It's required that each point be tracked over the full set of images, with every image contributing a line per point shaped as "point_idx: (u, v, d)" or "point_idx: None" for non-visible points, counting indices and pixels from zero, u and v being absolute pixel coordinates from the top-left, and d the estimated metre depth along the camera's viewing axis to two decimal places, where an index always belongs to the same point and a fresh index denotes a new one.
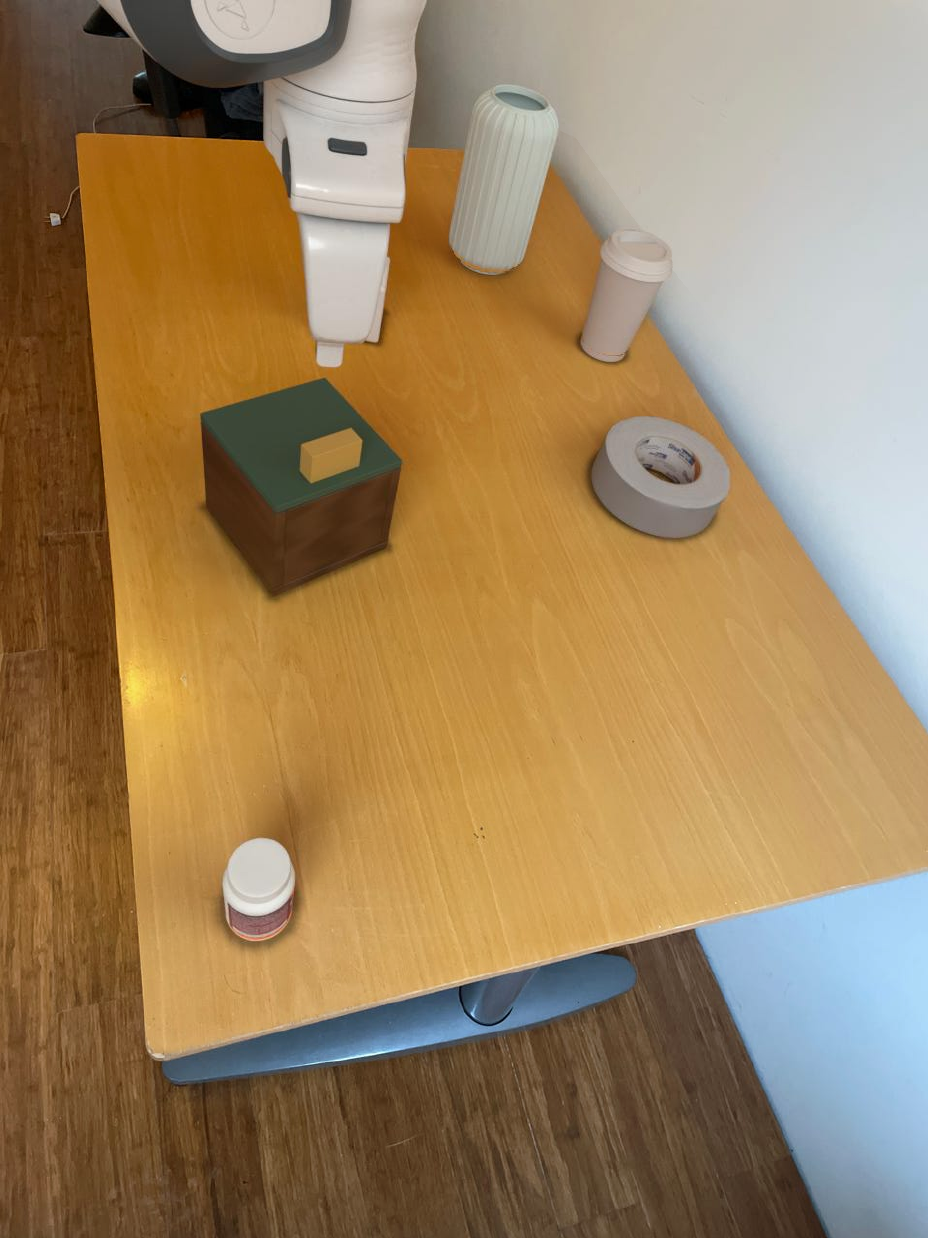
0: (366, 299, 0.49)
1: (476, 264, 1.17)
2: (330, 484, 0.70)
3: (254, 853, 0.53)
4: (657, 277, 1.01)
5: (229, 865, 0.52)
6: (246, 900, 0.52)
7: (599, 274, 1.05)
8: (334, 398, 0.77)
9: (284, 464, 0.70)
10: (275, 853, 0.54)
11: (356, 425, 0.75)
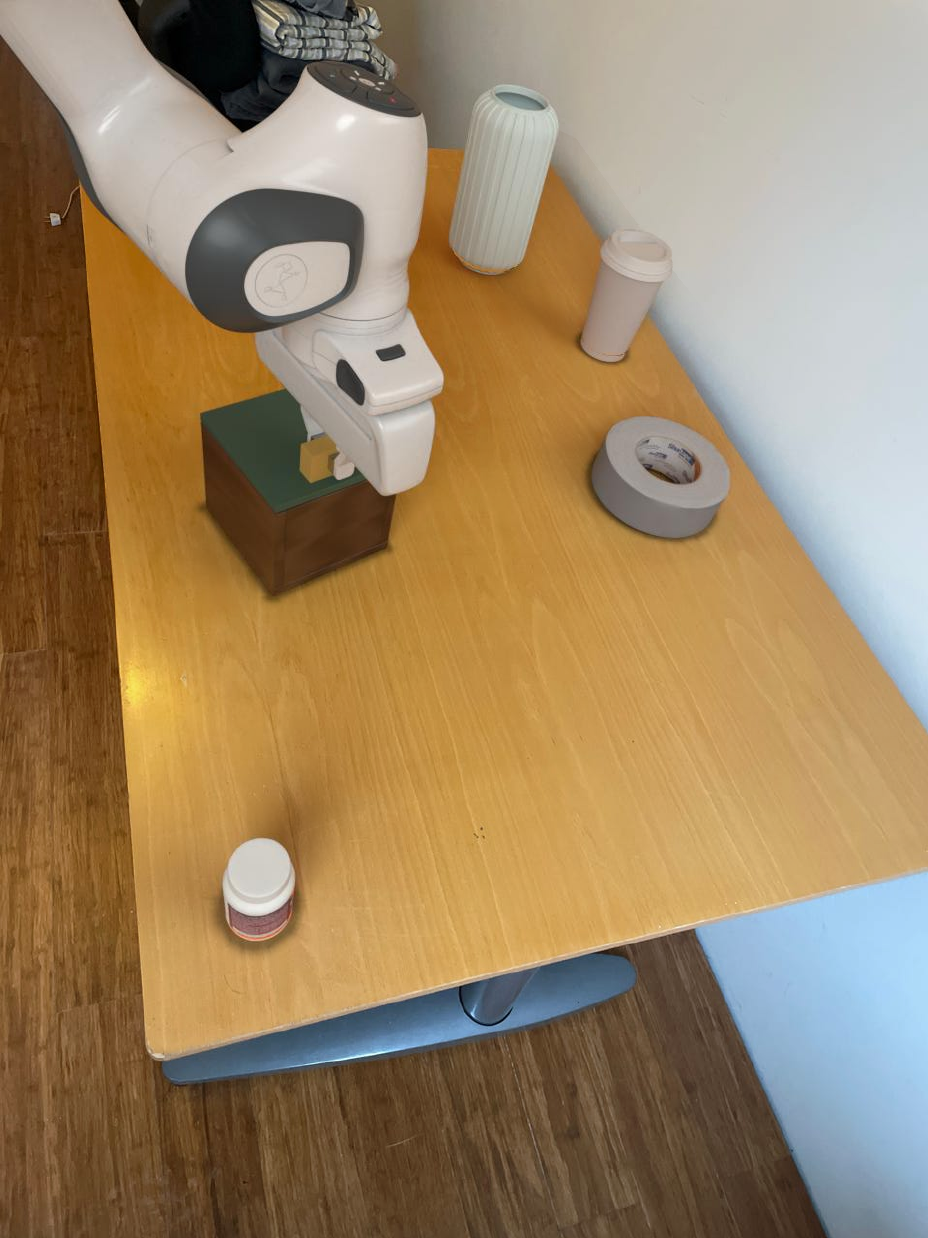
0: (424, 455, 0.61)
1: (476, 264, 1.17)
2: (330, 484, 0.70)
3: (254, 853, 0.53)
4: (657, 277, 1.01)
5: (229, 865, 0.52)
6: (246, 900, 0.52)
7: (599, 274, 1.05)
8: None
9: (284, 464, 0.70)
10: (275, 853, 0.54)
11: None
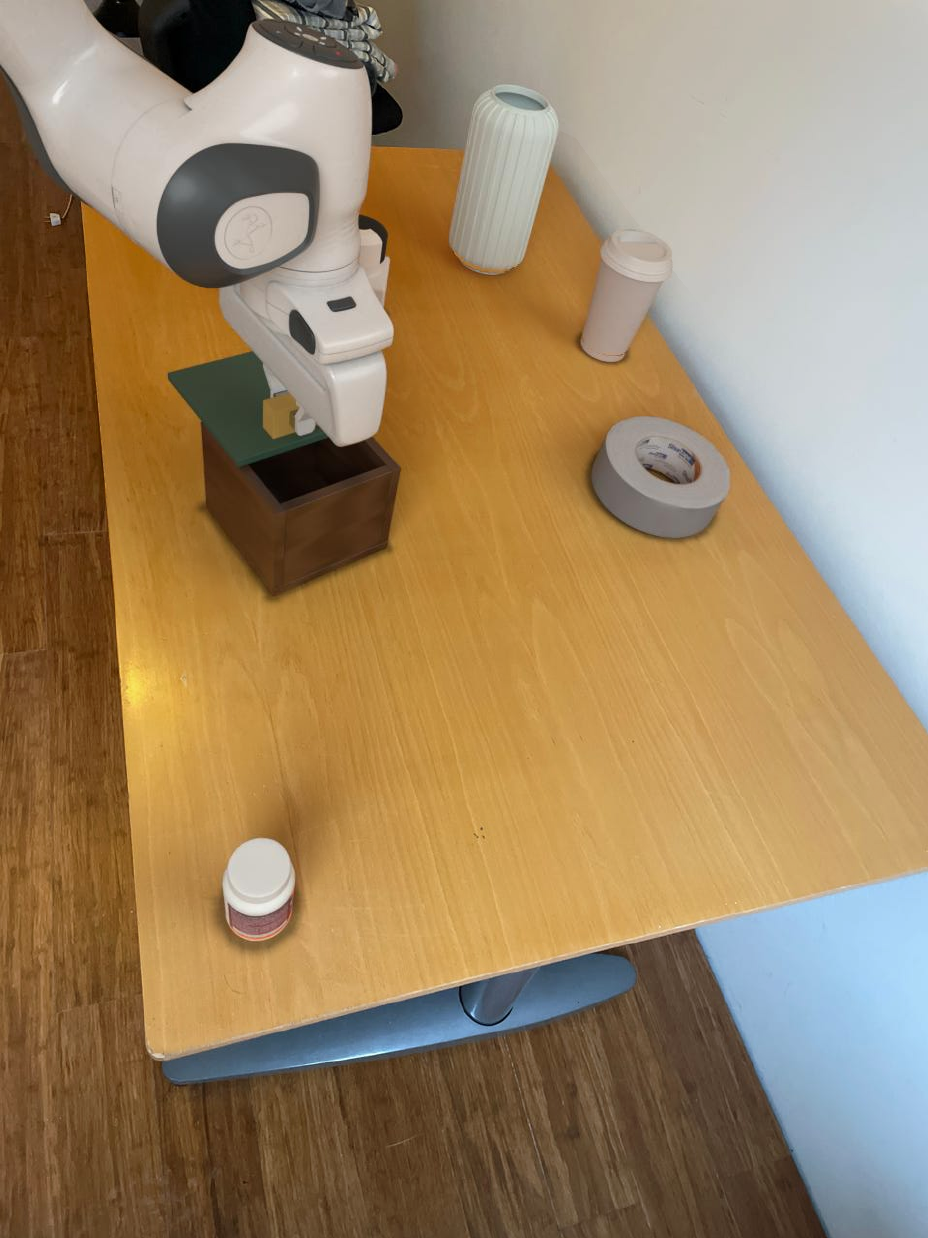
0: (377, 407, 0.64)
1: (476, 264, 1.17)
2: (292, 440, 0.72)
3: (254, 853, 0.53)
4: (657, 277, 1.01)
5: (229, 865, 0.52)
6: (246, 900, 0.52)
7: (599, 274, 1.05)
8: None
9: (248, 421, 0.73)
10: (275, 853, 0.54)
11: None
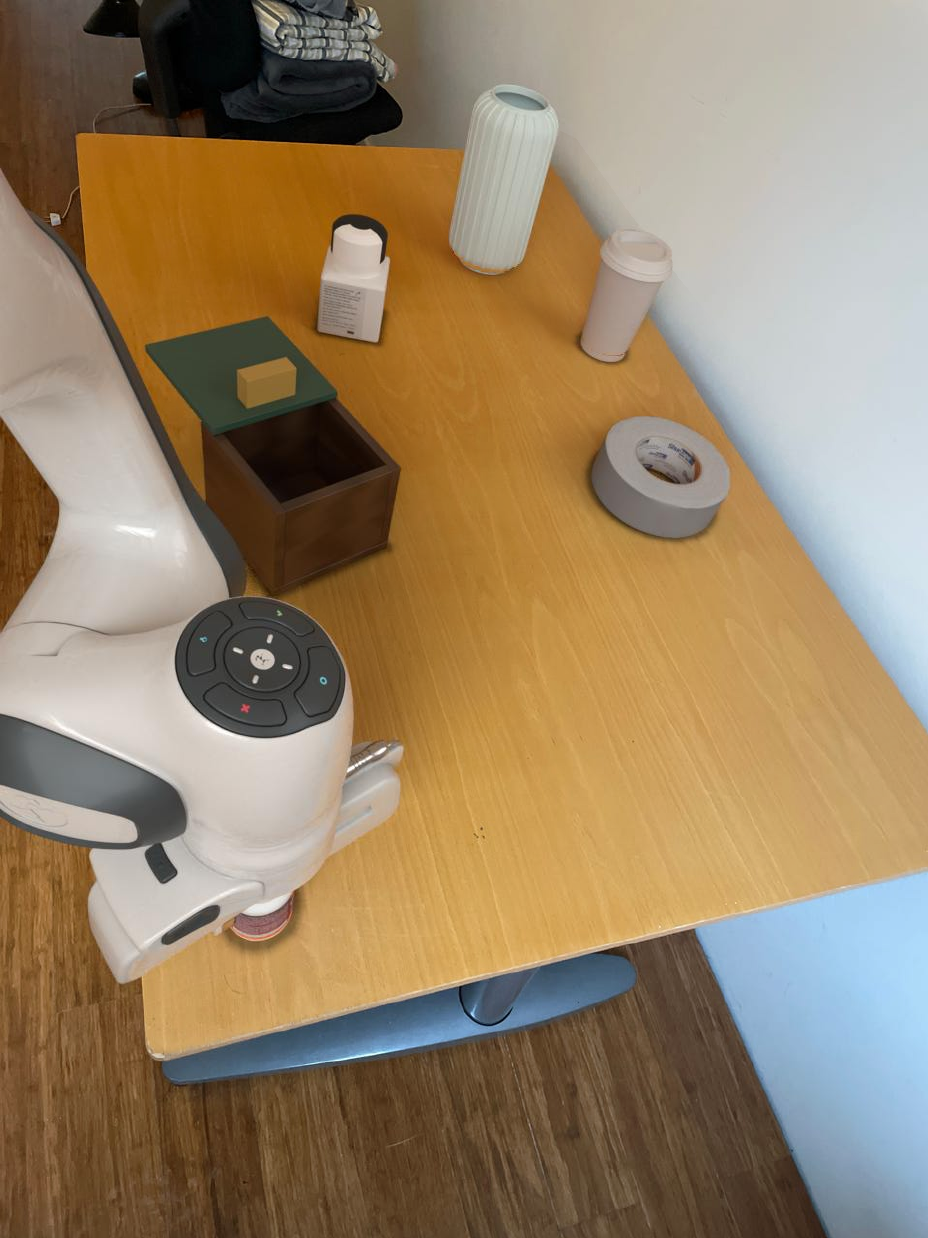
0: (113, 966, 0.45)
1: (476, 264, 1.17)
2: (266, 410, 0.74)
3: None
4: (657, 277, 1.01)
5: None
6: None
7: (599, 274, 1.05)
8: (275, 334, 0.81)
9: (223, 391, 0.75)
10: None
11: (295, 359, 0.80)
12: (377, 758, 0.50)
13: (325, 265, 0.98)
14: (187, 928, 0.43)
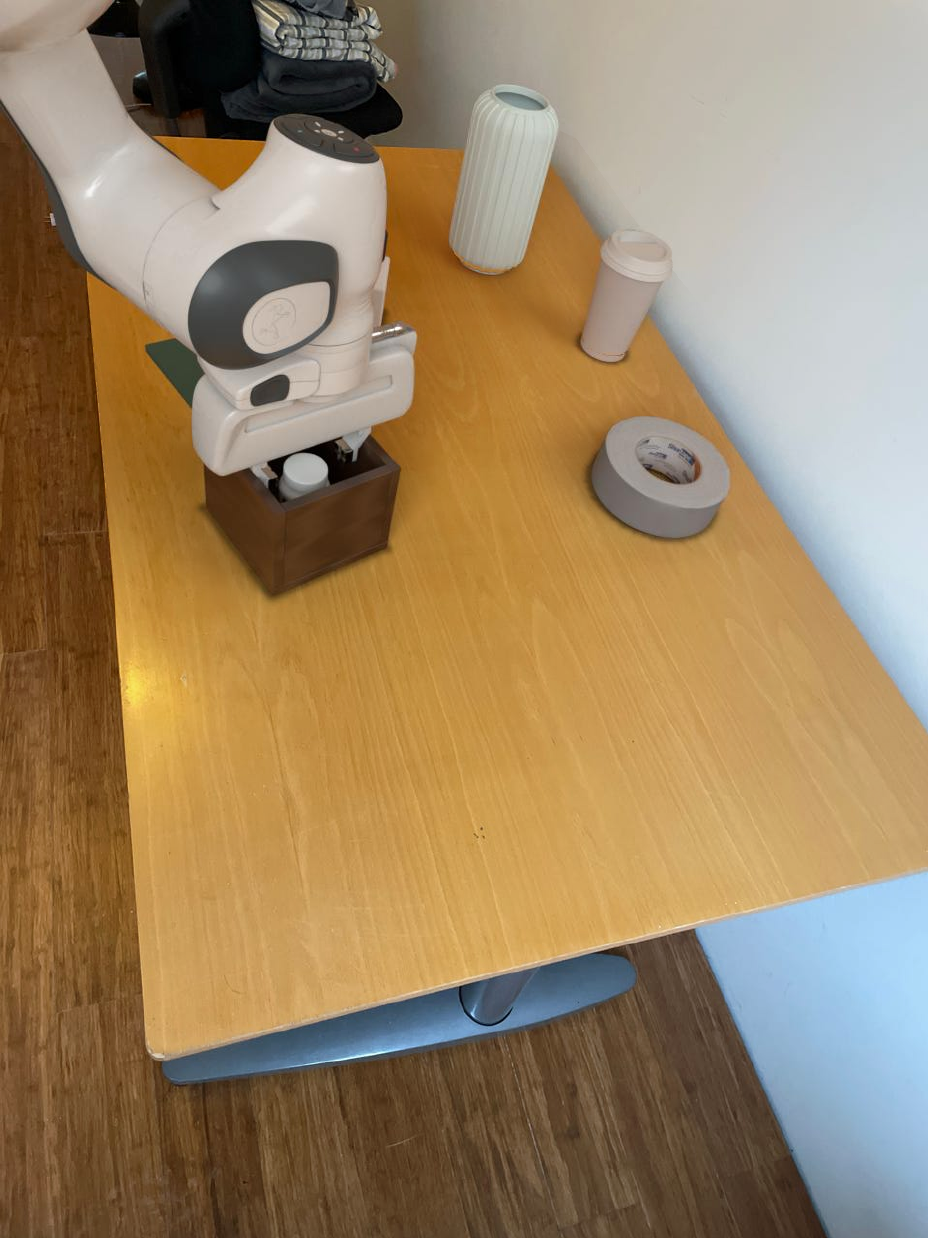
0: (211, 444, 0.64)
1: (476, 264, 1.17)
2: None
3: (301, 460, 0.75)
4: (657, 277, 1.01)
5: (284, 465, 0.74)
6: (297, 489, 0.74)
7: (599, 274, 1.05)
8: None
9: None
10: (317, 462, 0.75)
11: None
12: (397, 330, 0.69)
13: None
14: (267, 395, 0.61)
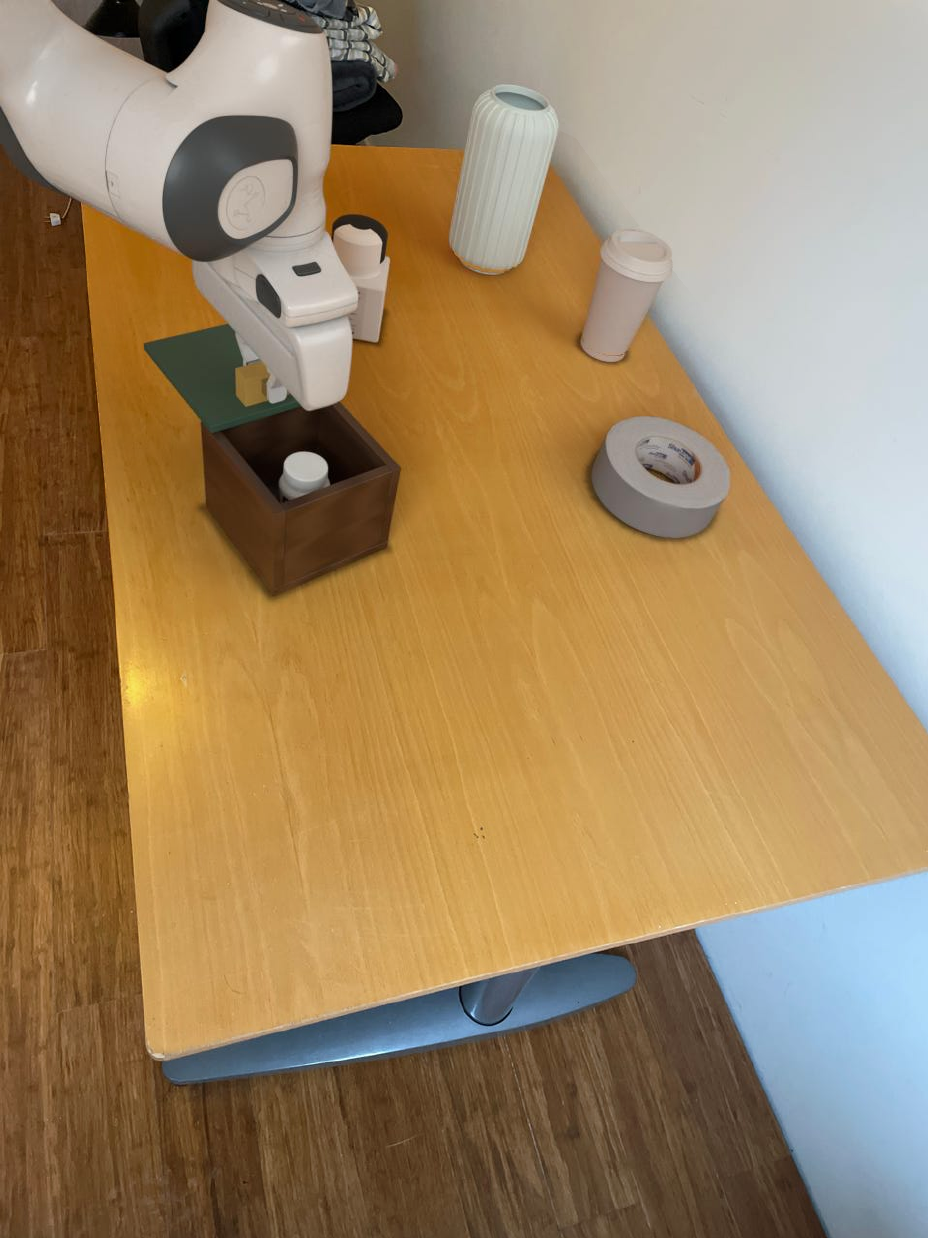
0: (344, 371, 0.65)
1: (476, 264, 1.17)
2: (264, 408, 0.74)
3: (301, 458, 0.75)
4: (657, 277, 1.01)
5: (285, 463, 0.74)
6: (297, 486, 0.74)
7: (599, 274, 1.05)
8: None
9: (222, 389, 0.75)
10: (317, 460, 0.75)
11: None
12: None
13: None
14: None
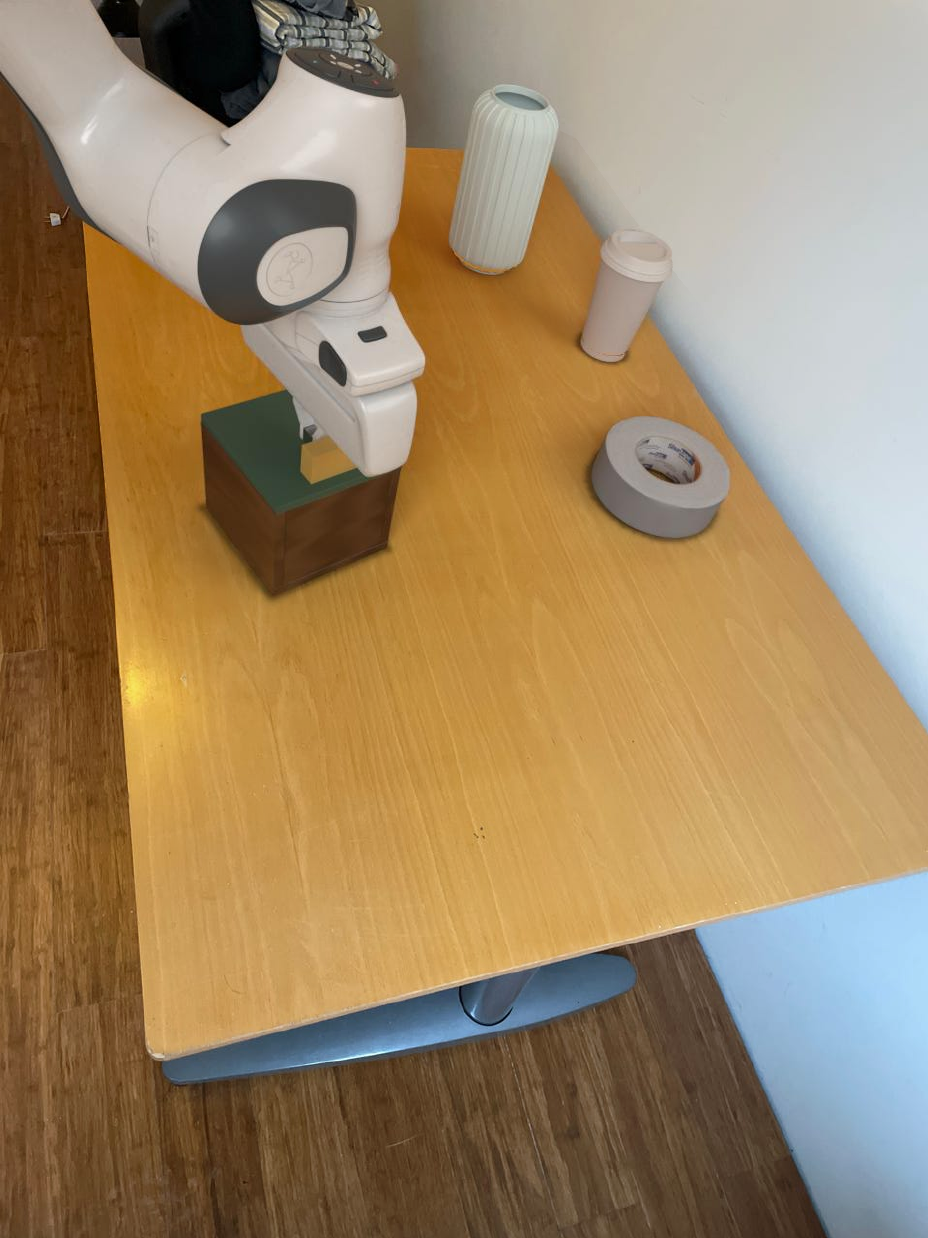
0: (407, 437, 0.62)
1: (476, 264, 1.17)
2: (331, 485, 0.70)
3: None
4: (657, 277, 1.01)
5: None
6: None
7: (599, 274, 1.05)
8: None
9: (285, 465, 0.70)
10: None
11: None
12: None
13: None
14: None
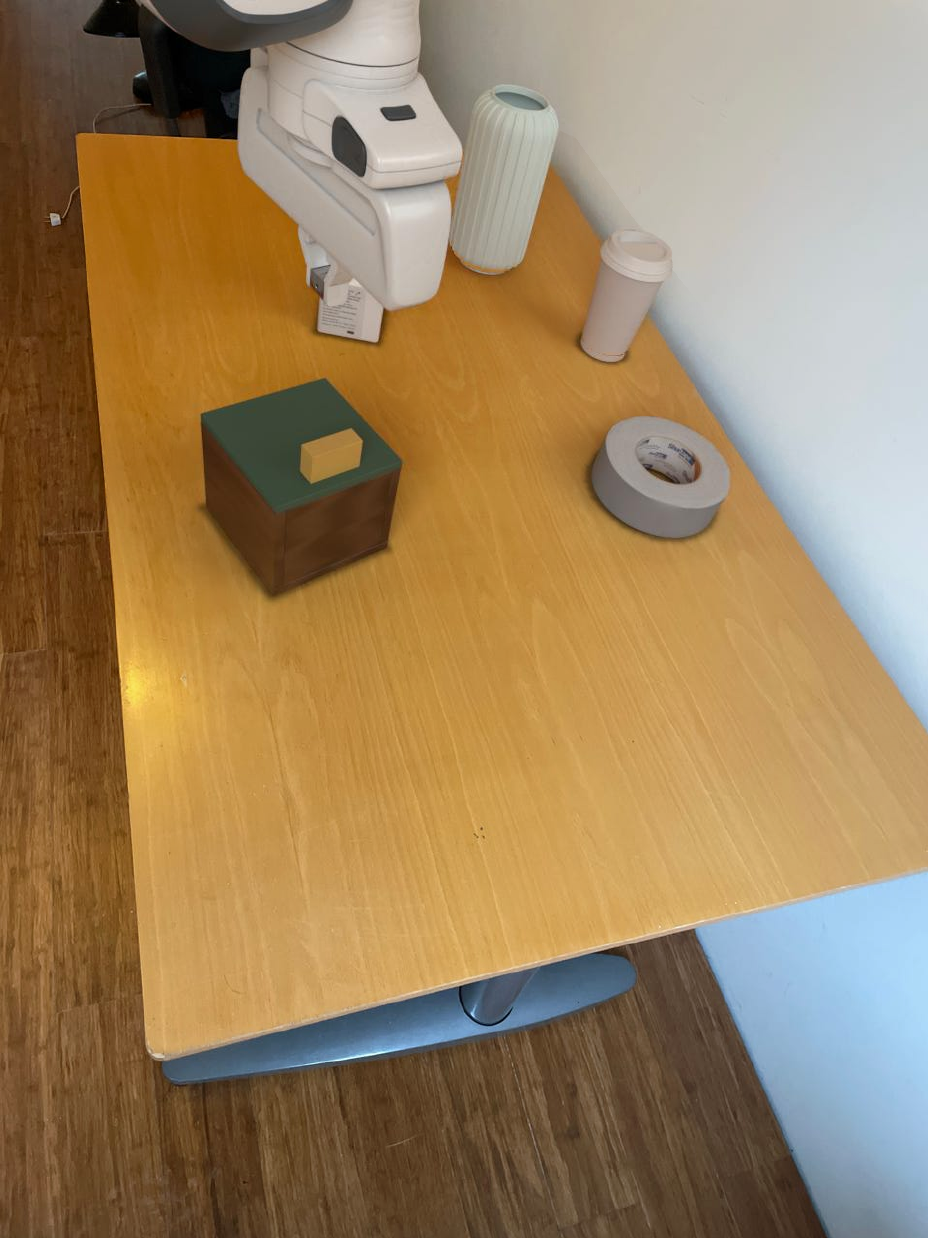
0: (438, 257, 0.51)
1: (476, 264, 1.17)
2: (330, 485, 0.70)
3: None
4: (657, 277, 1.01)
5: None
6: None
7: (599, 274, 1.05)
8: (334, 398, 0.77)
9: (285, 464, 0.70)
10: None
11: (357, 425, 0.75)
12: None
13: None
14: None
